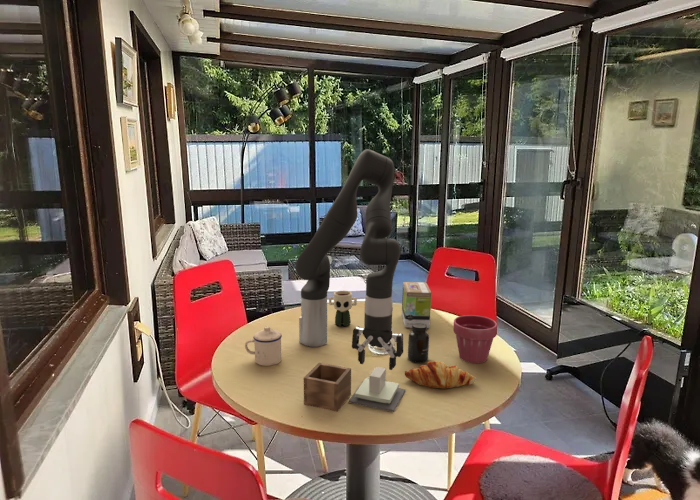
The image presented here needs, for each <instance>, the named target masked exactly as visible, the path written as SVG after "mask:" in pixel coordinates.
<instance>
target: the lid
mask: <svg viewBox="0 0 700 500" xmlns="http://www.w3.org/2000/svg"><path fill="white" fill-rule="evenodd" d="M364 378H365V379H363V381H362V382H363V383H362V382H361V383H362V384H361V383H360V385H361V386H360V385H359V386H360V387H359V386H358V387H359V388H358V387H357V389H358V390H357V389H356V390H357V391H356V390H355V391H356V393H355V392H354V393H355V397H358V398H361V399H365V400H370V401H375V402H381V403H390V402H391V400H392V399H393V397H394V395H395V393H396V391H397V389H398V388H400V382H399V383H398V382H392V381H387V380H386V379H387V368H385V367H381V366H375V367H374V369H373V370H372V371H371V373H370V374H369V377H364Z"/></svg>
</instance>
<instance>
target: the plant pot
mask: <svg viewBox="0 0 700 500" xmlns="http://www.w3.org/2000/svg"><path fill="white" fill-rule="evenodd" d="M452 329H453V333H454V334H455V337H456V344H457V348H458V349H457V350H458V355H459V358H460V359H461V360H462V361H464V362H466V363H471V364H482V363H485V362H487V360H488V357H489V354H490V351H491V348H492V345H493V341H494V339H495V338H496V337H497V334H498V323H497V322H496V321H495V320H494V319H493V318H489V317H488V316H482V315H474V314H467V315H466V314H465V315H460V316H457V317H456V318H454V319H453V327H452Z"/></svg>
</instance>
